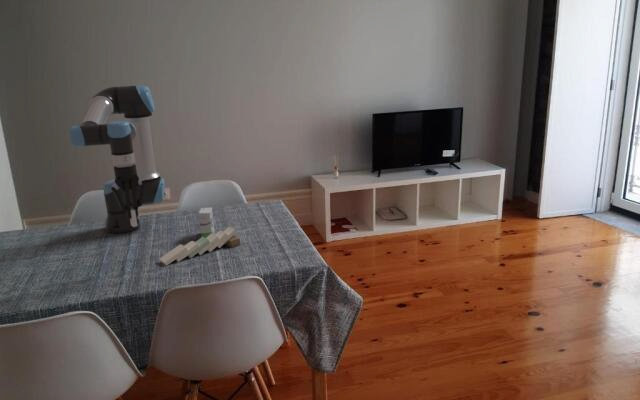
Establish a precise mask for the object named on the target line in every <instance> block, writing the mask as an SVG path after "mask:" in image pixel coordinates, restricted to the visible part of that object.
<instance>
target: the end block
mask: <svg viewBox="0 0 640 400" xmlns="http://www.w3.org/2000/svg"><path fill="white" fill-rule="evenodd" d="M224 245H226V246H228V247H229V248H232V249H233V248H235V247H239V246H241V240H240V238H239V237H237V236H235V234H234V235H233V236H232V237H231V238H230V239H229V240H228V241H227V242H226V243H225V244H224Z"/></svg>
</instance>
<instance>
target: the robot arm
mask: <svg viewBox="0 0 640 400" xmlns="http://www.w3.org/2000/svg"><path fill="white" fill-rule="evenodd" d="M88 108H89V109H88V111H87V113H86V115H85V116H84V118H83V120H82V122H81V124H80V125H79V124H78V125H72V126H71V127H70V129H69V137H70V141H71V143H72V145H73V146H74V147H91V146H103V145H104V146H105V145H109V146H110V153H111V159H112V165H113V170H114V171H113V172H114V179H111V180H109V181H107V182H105V183H104V184H103V186H102V187H103V196H104V202H105V207H106V213H107V217H106V222H105V231H106V233H109V234H125V233H129V232H132V231H135V230H138V229H139V228H140V227H141V221H140V219H139V211H138V209H139V208H140V207H143V206H145V205H146V206H148V205H157V204H162V203H163V202H164V199H165V185H166V183H165V178H163V177H161V173H159V172H158V171H157V166H156V162H155V161H156V160H155V154H154V146H153V139H152V132H151V125H150V119H151V118H152V117H153V113H154V112H155V111H156V110H155V109H156V108H155V102H154V99H153V96H152V92H151V90H150V88H149V87H148V86H146V85H125V86H123V85H122V86H110V87H106V88H104V89H102V90H100V91H99V92H97V93H95V94H94V95H93V96H92V97H91V98H90V101H89V104H88ZM111 115H123V118H124V119H125V120H115V121H110V122H108V123H106V122H107V121H108V118H109V117H110V116H111ZM126 120H127V121H126Z"/></svg>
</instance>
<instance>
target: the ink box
mask: <svg viewBox="0 0 640 400" xmlns="http://www.w3.org/2000/svg"><path fill="white" fill-rule="evenodd" d="M198 219H199V227H200V236H201V237H205V238H207V237H208V236H209V235H210V234H211V233H212V234H214V235H215V226H214V225H215V224H214V214H213V207H201V208H200V210H199V212H198ZM201 237H200V238H201Z"/></svg>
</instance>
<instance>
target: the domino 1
mask: <svg viewBox="0 0 640 400" xmlns="http://www.w3.org/2000/svg"><path fill="white" fill-rule="evenodd" d="M187 251H188V250H187V248H186V247H185V245H183V244H181V243H180V244H178V245H177V246H175V247H174V248H173V249H171V250H170V251H168V252H166V253H165V254H164V255H163V256H161V257H160V258H159V261H160V263H162V264H163V265H165V267H166V266H168V265H170V264H171V263H172V262H174V261H176V260H175V259H177V258H178V257H180V256H181V255H182V254H184V253H185V252H187Z"/></svg>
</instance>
